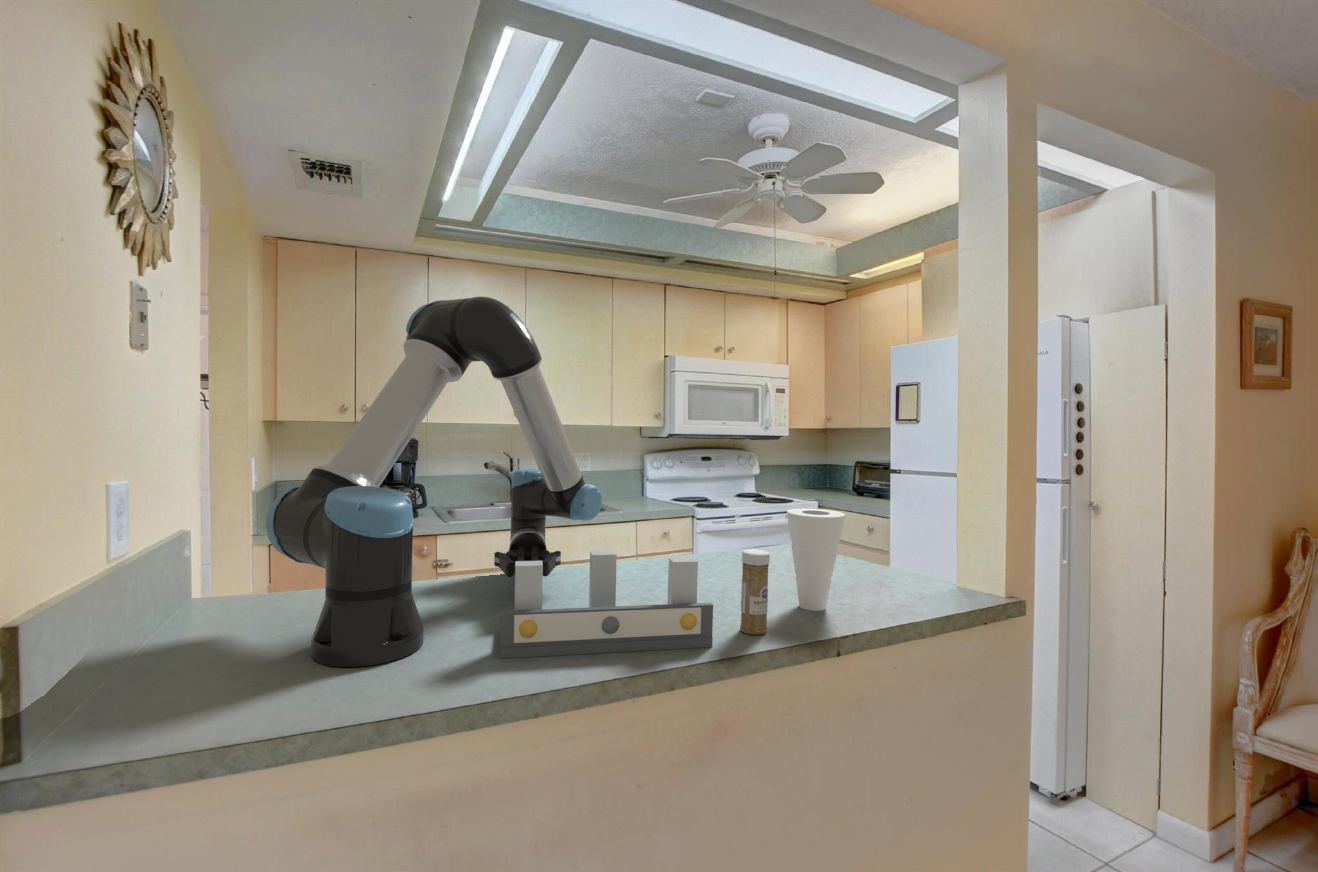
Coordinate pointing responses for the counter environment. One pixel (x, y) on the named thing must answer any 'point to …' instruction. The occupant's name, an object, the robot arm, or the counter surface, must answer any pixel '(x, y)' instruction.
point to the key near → (528, 585)
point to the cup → (814, 553)
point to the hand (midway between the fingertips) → (527, 580)
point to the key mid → (602, 579)
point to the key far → (682, 580)
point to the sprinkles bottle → (754, 591)
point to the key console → (604, 629)
